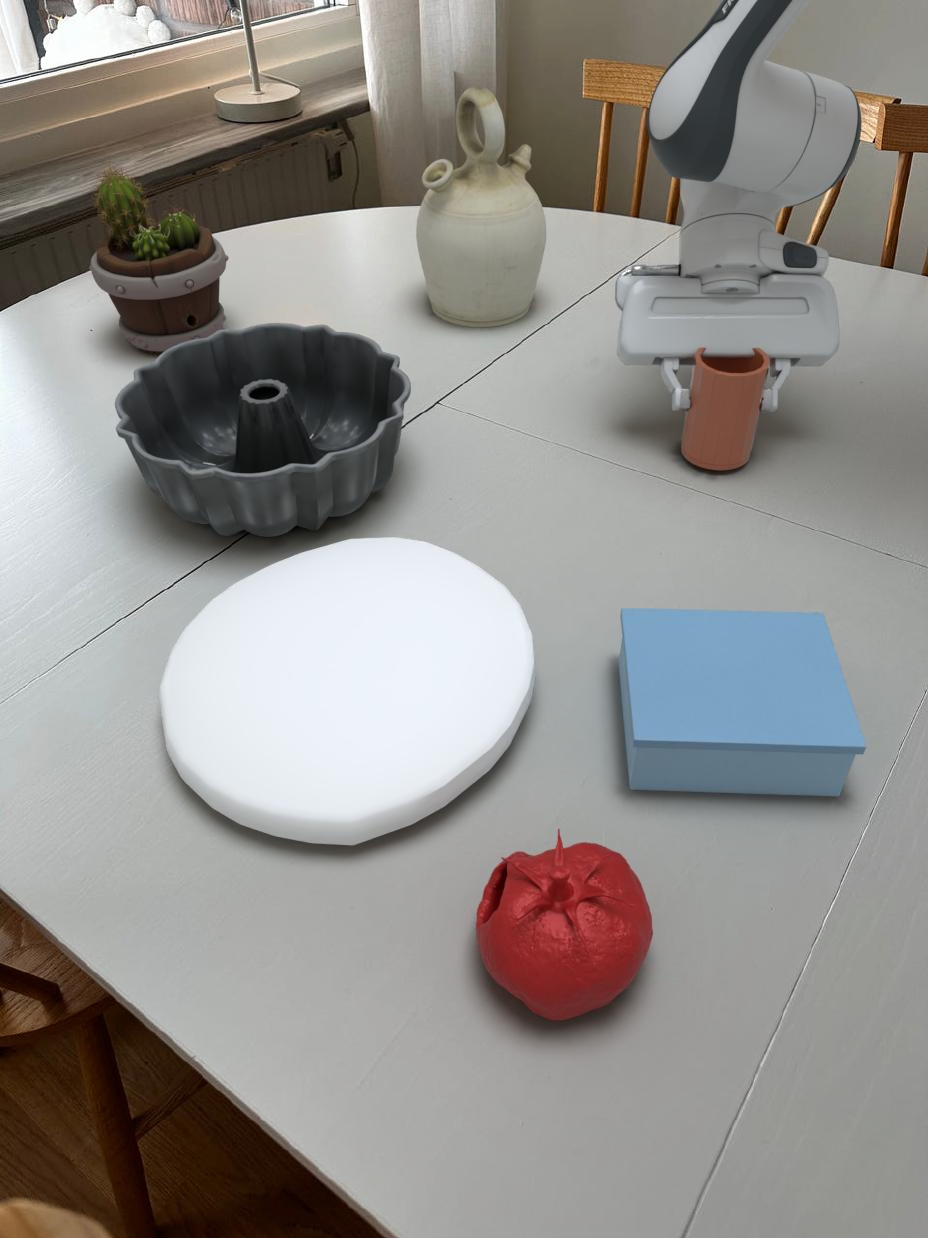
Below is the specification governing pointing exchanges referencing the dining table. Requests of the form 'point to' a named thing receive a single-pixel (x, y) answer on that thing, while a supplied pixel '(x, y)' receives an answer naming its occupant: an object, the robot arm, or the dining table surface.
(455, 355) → the dining table surface
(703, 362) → the cup
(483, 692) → the plate
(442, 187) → the jug
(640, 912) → the pomegranate
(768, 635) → the container
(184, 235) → the flowerpot
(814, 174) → the robot arm
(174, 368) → the bundt pan
